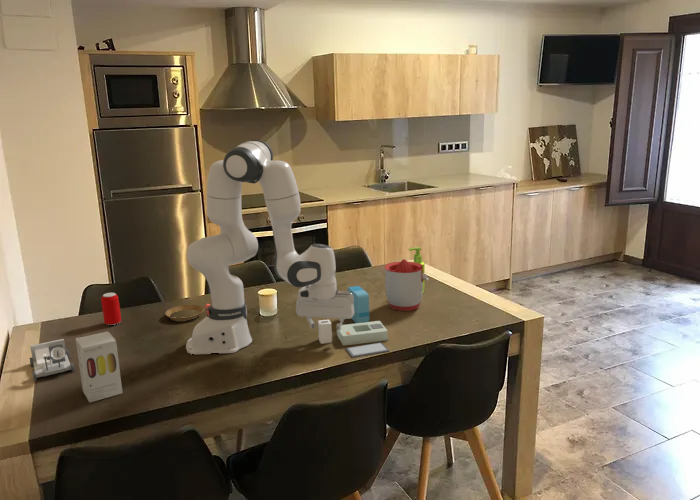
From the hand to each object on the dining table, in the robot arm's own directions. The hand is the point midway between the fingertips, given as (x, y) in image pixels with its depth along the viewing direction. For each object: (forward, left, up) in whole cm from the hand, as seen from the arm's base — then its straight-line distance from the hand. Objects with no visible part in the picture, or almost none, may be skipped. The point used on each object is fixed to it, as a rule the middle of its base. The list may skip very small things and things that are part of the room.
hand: (326, 328), depth 197 cm
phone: (+12, -11, -6) cm, 17 cm away
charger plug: (0, +1, -5) cm, 5 cm away
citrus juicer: (+38, +25, -5) cm, 46 cm away
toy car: (-89, +4, -6) cm, 89 cm away
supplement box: (-70, -17, -5) cm, 72 cm away
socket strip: (+13, 0, -5) cm, 14 cm away
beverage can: (-76, +41, -5) cm, 87 cm away
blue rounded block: (+16, +17, -5) cm, 24 cm away
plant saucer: (-49, +41, -5) cm, 64 cm away
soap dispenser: (+48, +41, -5) cm, 63 cm away
